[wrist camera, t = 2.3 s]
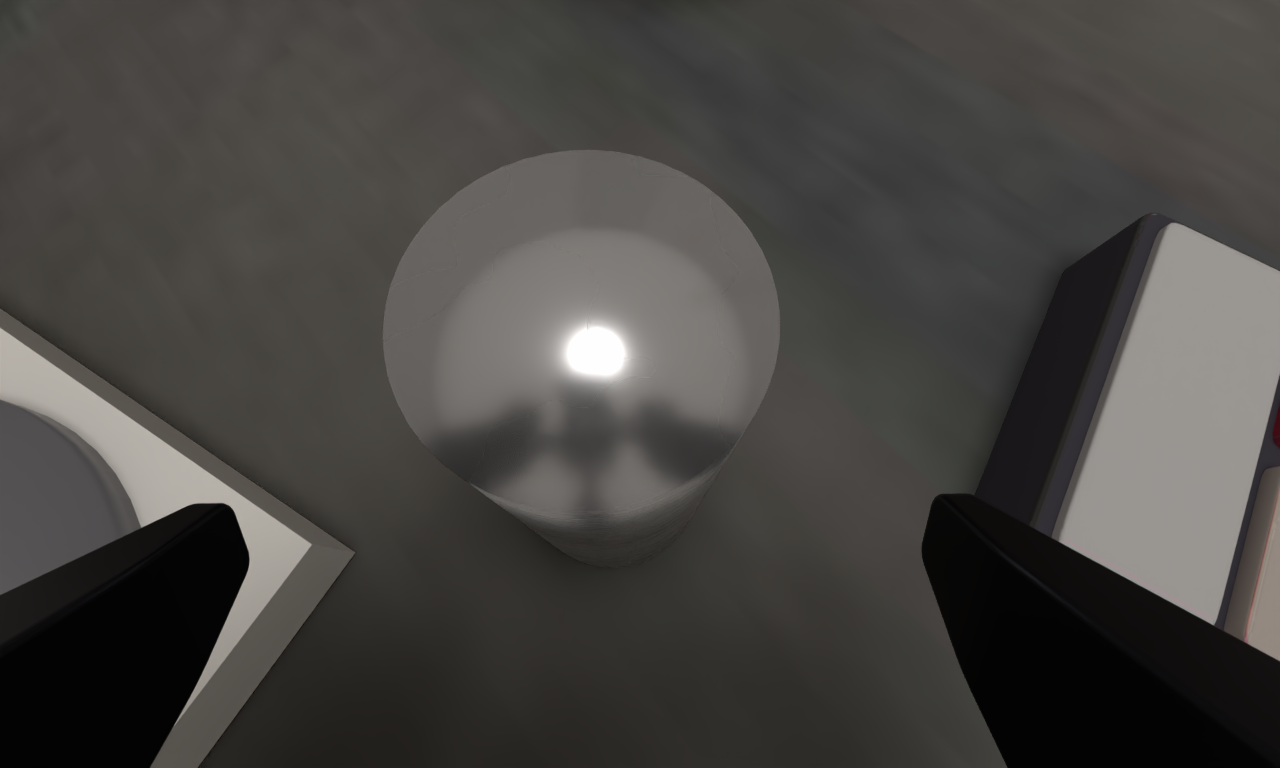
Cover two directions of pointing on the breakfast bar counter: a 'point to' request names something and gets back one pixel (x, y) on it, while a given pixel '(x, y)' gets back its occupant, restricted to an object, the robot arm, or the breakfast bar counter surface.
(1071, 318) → the calculator
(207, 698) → the kitchen scale
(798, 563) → the breakfast bar counter surface
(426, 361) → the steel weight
